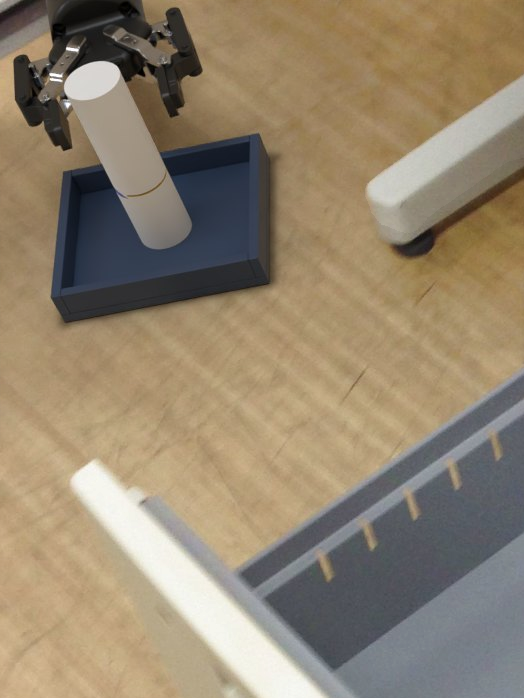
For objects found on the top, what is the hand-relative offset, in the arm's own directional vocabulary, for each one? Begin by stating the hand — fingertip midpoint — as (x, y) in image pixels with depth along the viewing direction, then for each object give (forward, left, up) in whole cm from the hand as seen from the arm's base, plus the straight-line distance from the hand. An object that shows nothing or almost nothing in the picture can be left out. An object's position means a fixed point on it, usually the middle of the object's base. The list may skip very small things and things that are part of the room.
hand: (117, 124), depth 137 cm
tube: (0, -1, -10) cm, 10 cm away
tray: (0, -1, -11) cm, 11 cm away
